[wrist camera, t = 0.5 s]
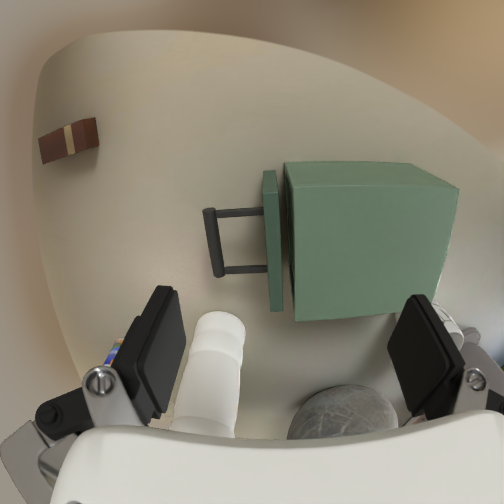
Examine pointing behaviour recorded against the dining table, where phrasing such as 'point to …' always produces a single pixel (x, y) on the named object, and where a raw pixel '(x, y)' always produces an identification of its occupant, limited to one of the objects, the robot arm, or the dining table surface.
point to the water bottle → (211, 378)
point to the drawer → (271, 235)
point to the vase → (481, 360)
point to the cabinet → (365, 236)
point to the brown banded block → (69, 140)
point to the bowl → (343, 414)
